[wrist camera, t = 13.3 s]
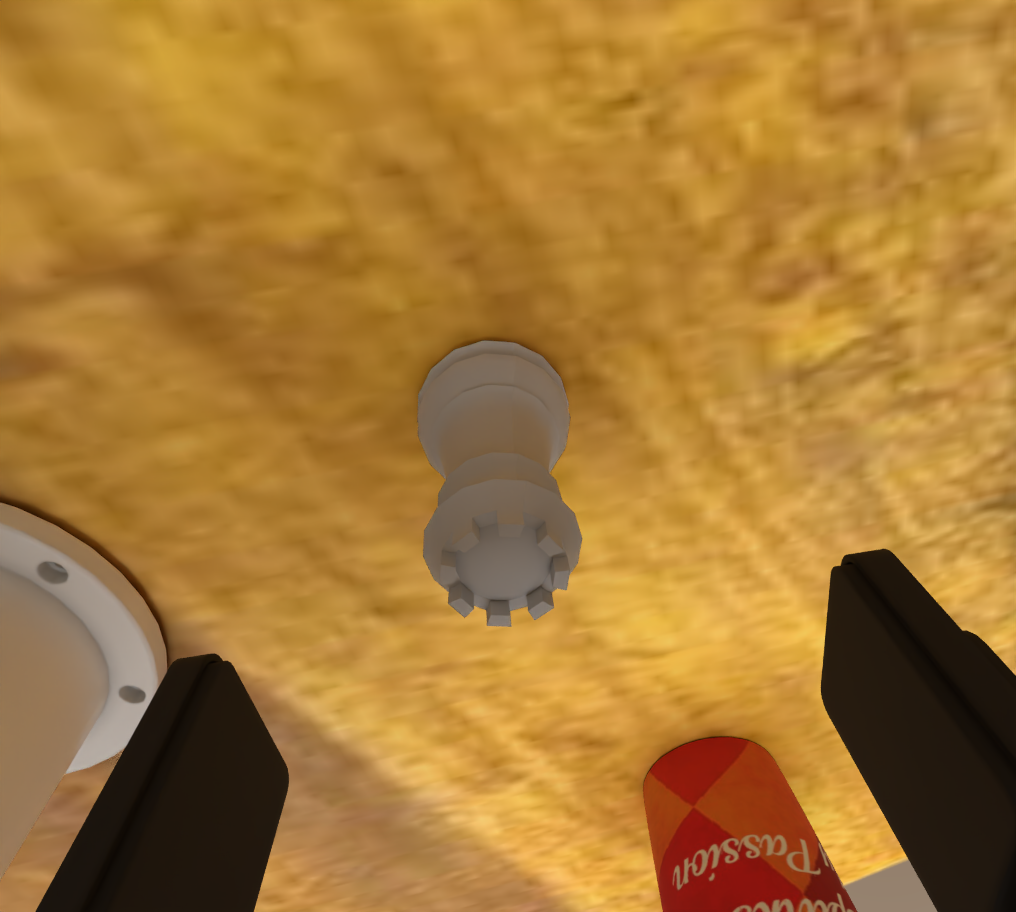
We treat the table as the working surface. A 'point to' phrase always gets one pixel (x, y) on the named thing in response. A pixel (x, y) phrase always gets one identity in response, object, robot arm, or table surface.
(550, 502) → the grey castle rook
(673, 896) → the coffee cup
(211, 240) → the table surface
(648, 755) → the table surface
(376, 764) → the table surface
